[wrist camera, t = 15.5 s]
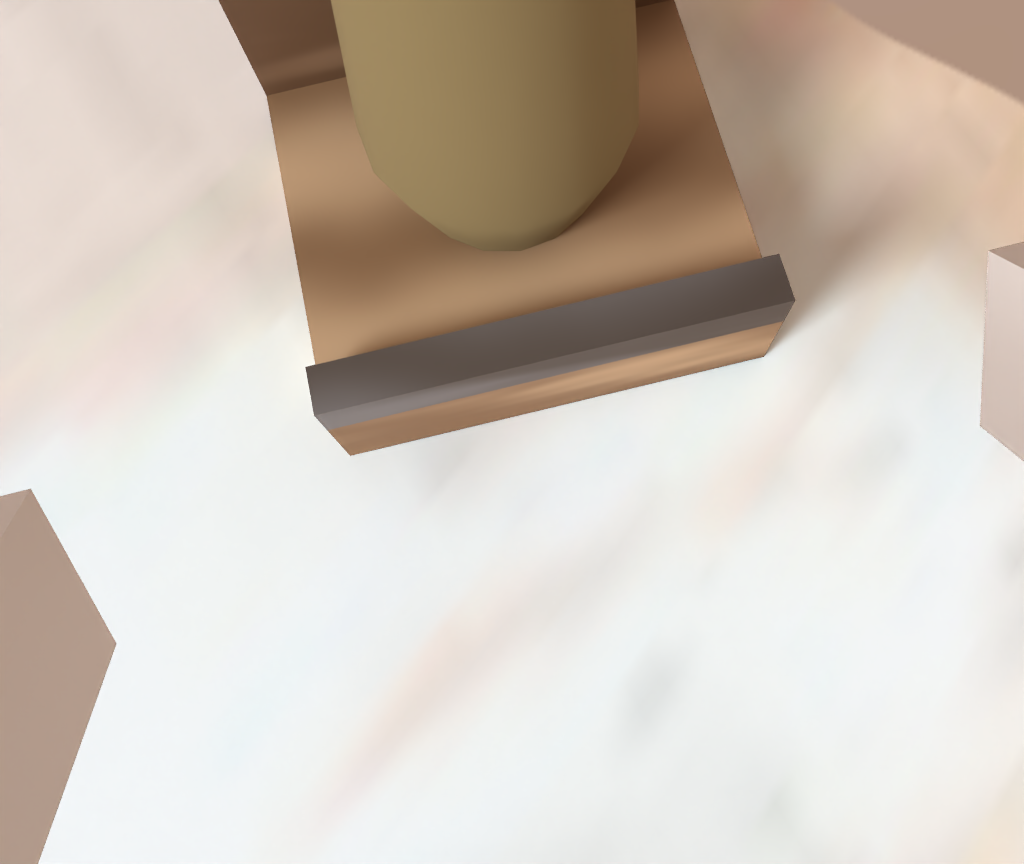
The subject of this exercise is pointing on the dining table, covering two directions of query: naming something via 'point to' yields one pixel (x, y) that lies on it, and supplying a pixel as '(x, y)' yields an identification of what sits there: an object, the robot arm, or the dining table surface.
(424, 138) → the squeeze bottle
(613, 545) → the dining table surface
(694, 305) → the wooden bookend
